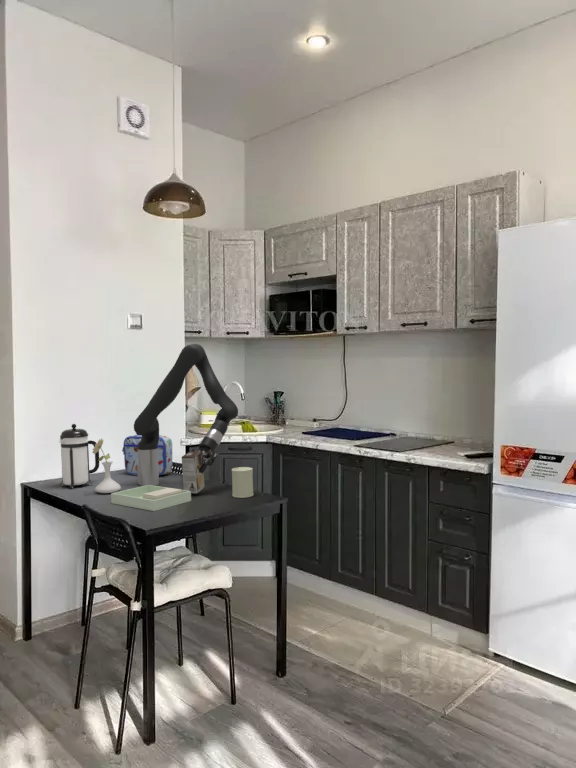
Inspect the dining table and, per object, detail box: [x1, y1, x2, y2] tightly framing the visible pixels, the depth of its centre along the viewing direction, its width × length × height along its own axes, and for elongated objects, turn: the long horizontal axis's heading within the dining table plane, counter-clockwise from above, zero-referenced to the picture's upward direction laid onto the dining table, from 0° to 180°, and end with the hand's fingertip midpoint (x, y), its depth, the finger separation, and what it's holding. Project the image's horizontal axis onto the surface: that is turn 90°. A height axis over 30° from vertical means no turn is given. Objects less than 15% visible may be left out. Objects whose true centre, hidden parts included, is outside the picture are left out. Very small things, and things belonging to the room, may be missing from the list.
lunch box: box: [121, 432, 173, 476], centre depth 324 cm, size 28×10×22 cm, turn 68°
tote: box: [110, 485, 192, 512], centre depth 257 cm, size 26×20×5 cm
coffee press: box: [58, 423, 100, 489], centre depth 300 cm, size 17×16×30 cm
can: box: [231, 466, 254, 499], centre depth 269 cm, size 9×9×12 cm
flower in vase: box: [92, 437, 122, 494], centre depth 282 cm, size 13×11×25 cm
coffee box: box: [181, 451, 206, 494], centre depth 269 cm, size 9×6×16 cm
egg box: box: [142, 487, 182, 500], centre depth 253 cm, size 8×14×5 cm, turn 143°
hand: (193, 471), depth 270 cm, fingers closed on coffee box, 8 cm apart
